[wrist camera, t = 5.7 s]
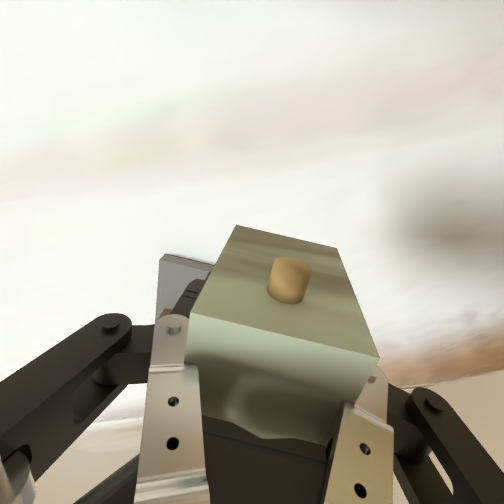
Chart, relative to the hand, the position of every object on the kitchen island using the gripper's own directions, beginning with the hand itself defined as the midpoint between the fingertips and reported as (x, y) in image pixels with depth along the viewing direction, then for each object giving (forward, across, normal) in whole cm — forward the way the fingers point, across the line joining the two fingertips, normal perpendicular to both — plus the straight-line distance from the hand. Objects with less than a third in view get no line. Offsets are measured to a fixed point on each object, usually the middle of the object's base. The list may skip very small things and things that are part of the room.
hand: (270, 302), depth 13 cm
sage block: (+1, 0, 0) cm, 1 cm away
